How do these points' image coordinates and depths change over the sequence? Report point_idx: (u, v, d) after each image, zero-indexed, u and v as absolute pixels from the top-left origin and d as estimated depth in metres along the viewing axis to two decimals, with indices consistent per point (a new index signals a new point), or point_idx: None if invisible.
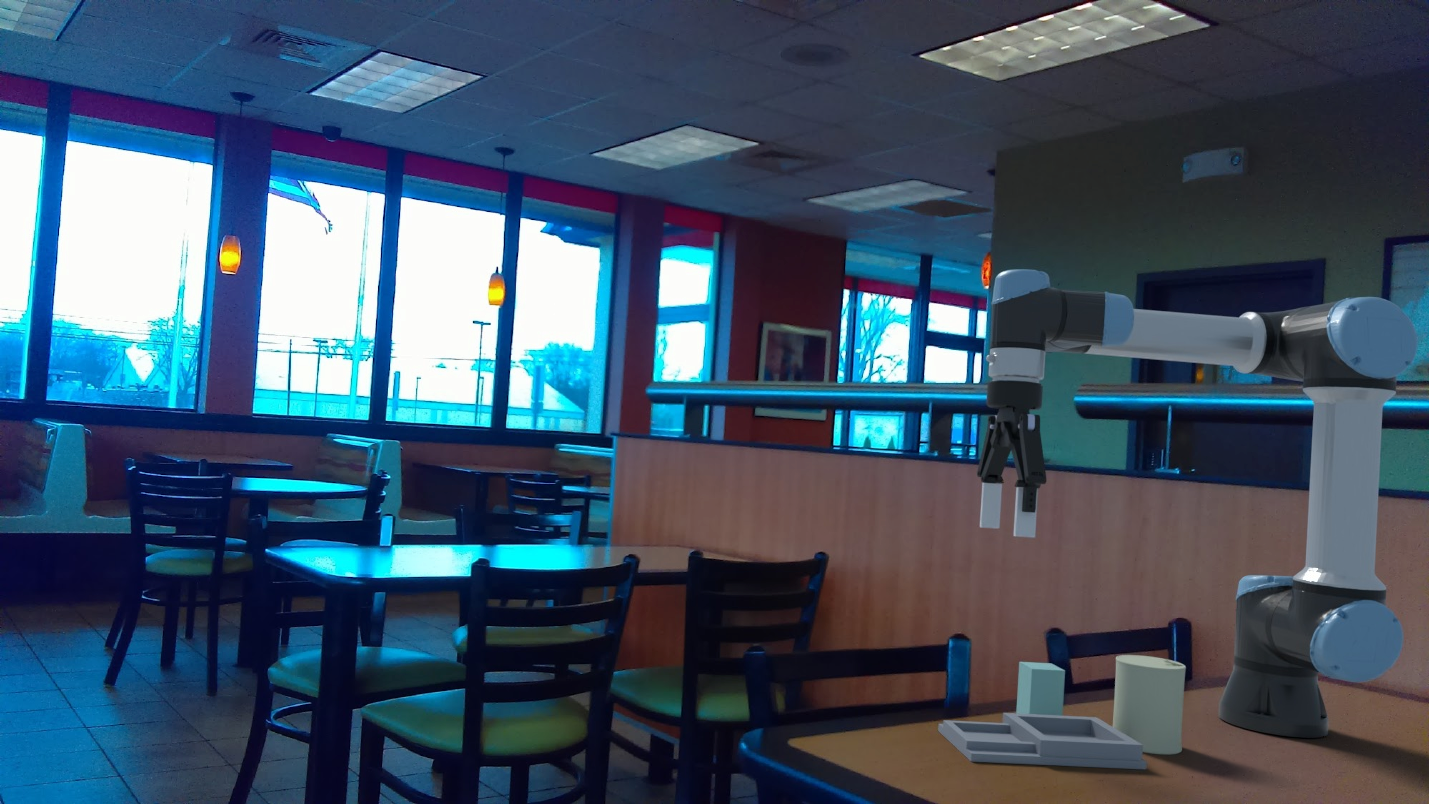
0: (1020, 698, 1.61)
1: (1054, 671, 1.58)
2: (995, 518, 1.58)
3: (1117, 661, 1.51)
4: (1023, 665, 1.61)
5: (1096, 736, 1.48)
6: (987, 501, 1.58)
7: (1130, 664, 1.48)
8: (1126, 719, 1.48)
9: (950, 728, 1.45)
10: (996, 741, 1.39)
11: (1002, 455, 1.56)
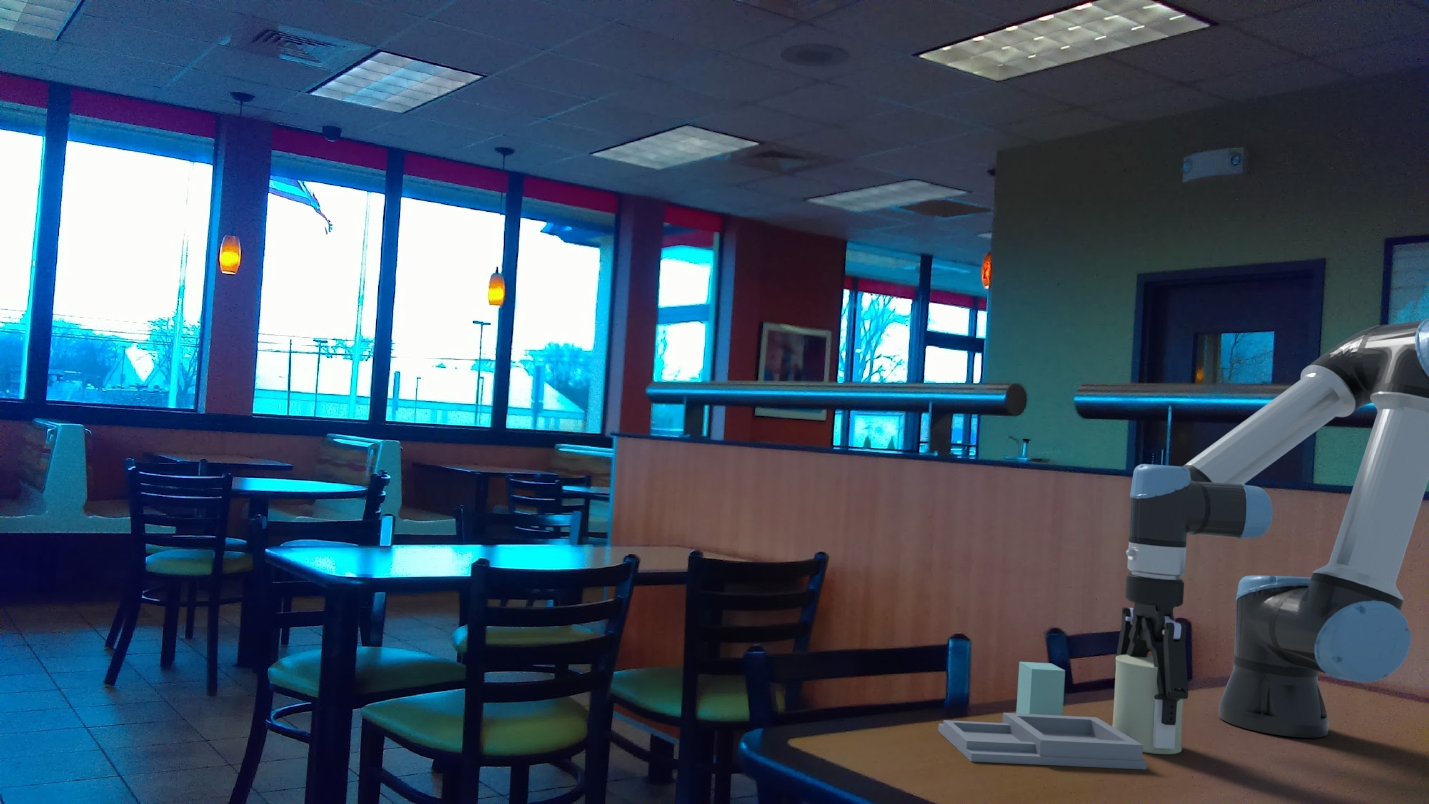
0: (1020, 698, 1.61)
1: (1054, 671, 1.58)
2: None
3: (1117, 661, 1.51)
4: (1023, 665, 1.61)
5: (1096, 736, 1.48)
6: None
7: (1130, 664, 1.48)
8: (1126, 719, 1.48)
9: (950, 728, 1.45)
10: (996, 741, 1.39)
11: (1142, 650, 1.54)
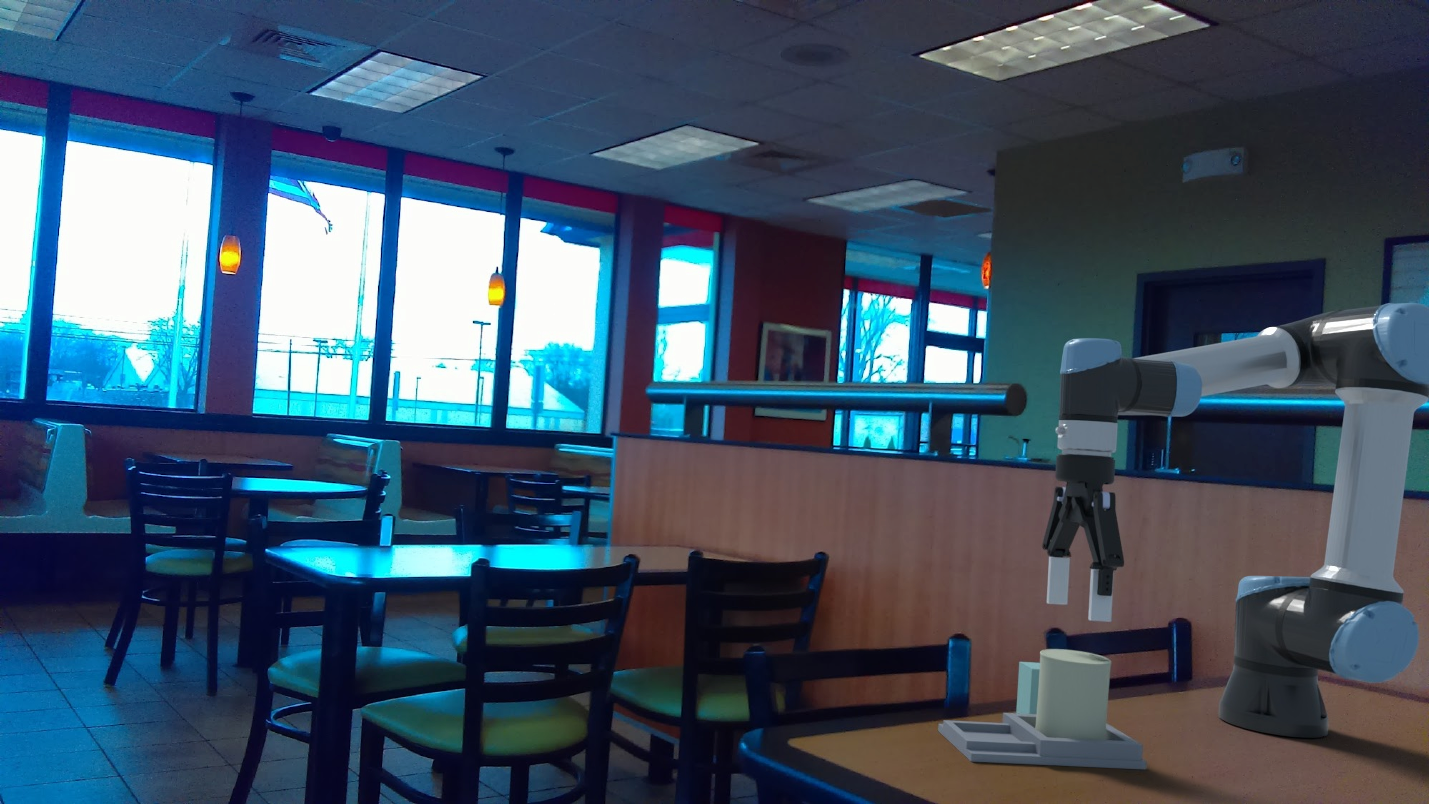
0: (1020, 698, 1.61)
1: None
2: (1063, 593, 1.51)
3: (1041, 655, 1.45)
4: (1023, 665, 1.61)
5: None
6: (1055, 576, 1.51)
7: (1054, 659, 1.42)
8: (1049, 716, 1.42)
9: (950, 728, 1.45)
10: (996, 741, 1.39)
11: (1071, 529, 1.49)
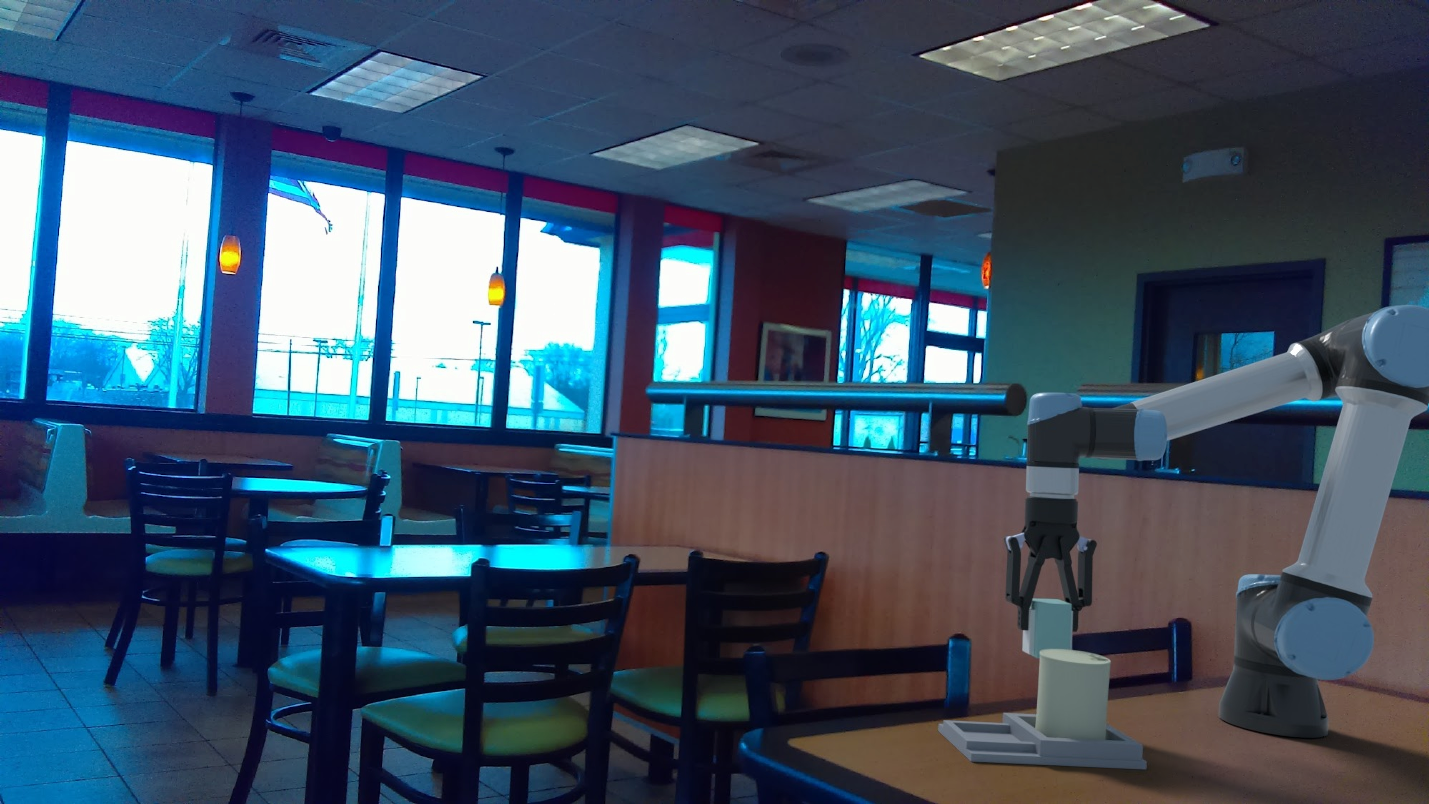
0: None
1: (1061, 605, 1.59)
2: None
3: (1041, 656, 1.45)
4: None
5: None
6: None
7: (1054, 659, 1.42)
8: (1050, 717, 1.42)
9: (950, 728, 1.45)
10: (996, 741, 1.39)
11: (1062, 572, 1.61)
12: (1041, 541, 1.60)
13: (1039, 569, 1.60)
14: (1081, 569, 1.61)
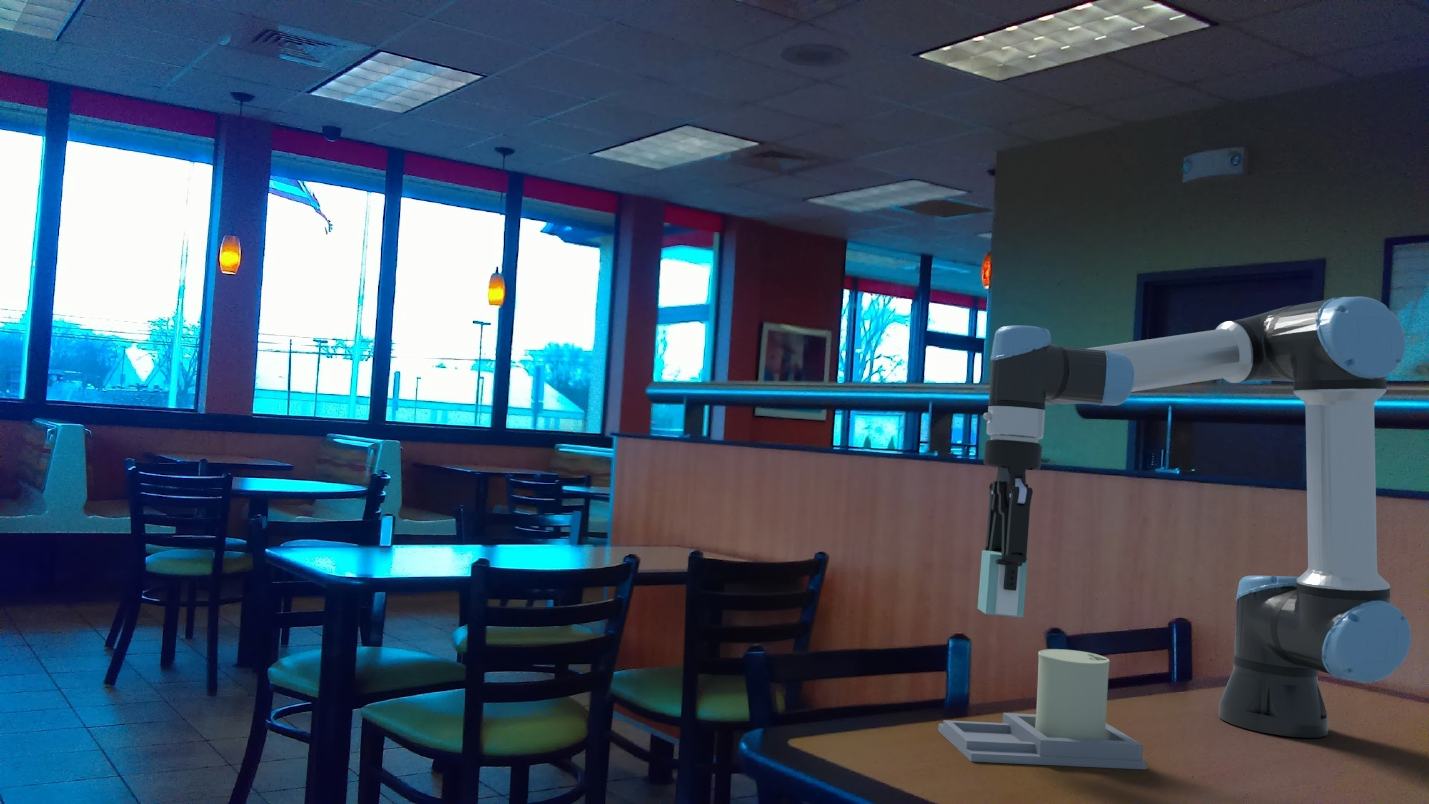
0: None
1: None
2: None
3: (1040, 656, 1.45)
4: None
5: None
6: None
7: (1053, 659, 1.42)
8: (1050, 717, 1.42)
9: (950, 728, 1.45)
10: (996, 741, 1.39)
11: None
12: None
13: None
14: None
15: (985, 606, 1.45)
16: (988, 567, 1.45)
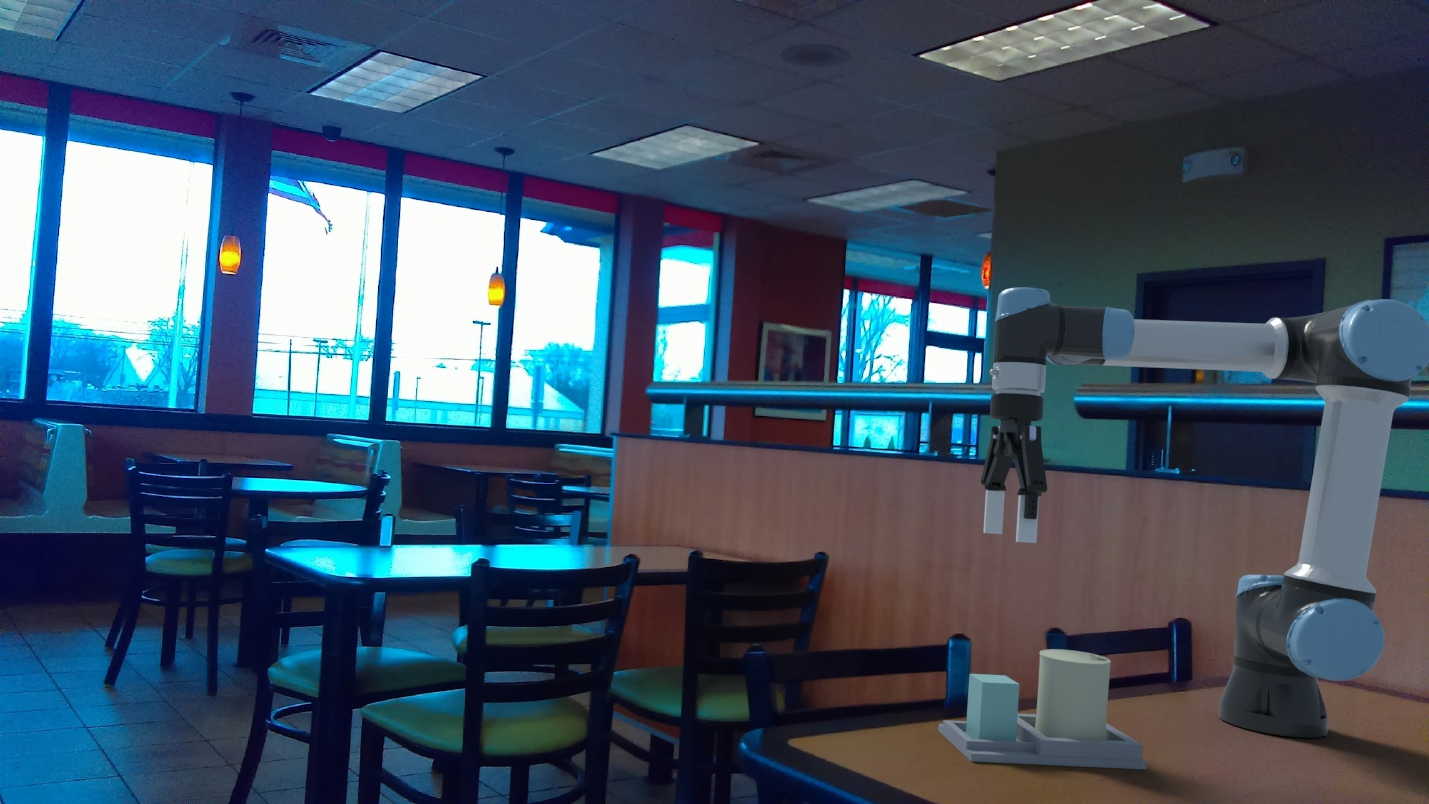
0: (990, 722, 1.41)
1: None
2: (998, 524, 1.65)
3: (1041, 656, 1.45)
4: (994, 684, 1.41)
5: None
6: (991, 508, 1.65)
7: (1055, 659, 1.42)
8: (1051, 717, 1.42)
9: (950, 728, 1.45)
10: (996, 741, 1.39)
11: (1005, 464, 1.63)
12: None
13: None
14: None
15: (977, 735, 1.41)
16: (980, 695, 1.41)
